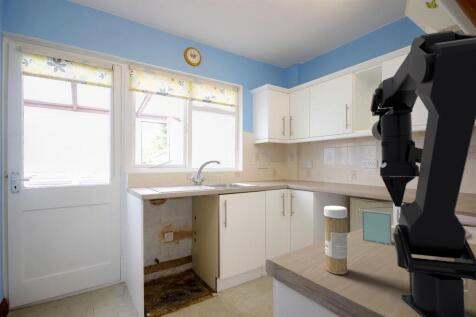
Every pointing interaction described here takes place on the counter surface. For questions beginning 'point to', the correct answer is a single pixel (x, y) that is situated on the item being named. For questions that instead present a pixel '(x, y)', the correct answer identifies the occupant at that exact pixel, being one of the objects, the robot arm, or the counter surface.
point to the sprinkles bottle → (336, 239)
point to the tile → (377, 226)
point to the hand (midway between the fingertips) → (398, 206)
